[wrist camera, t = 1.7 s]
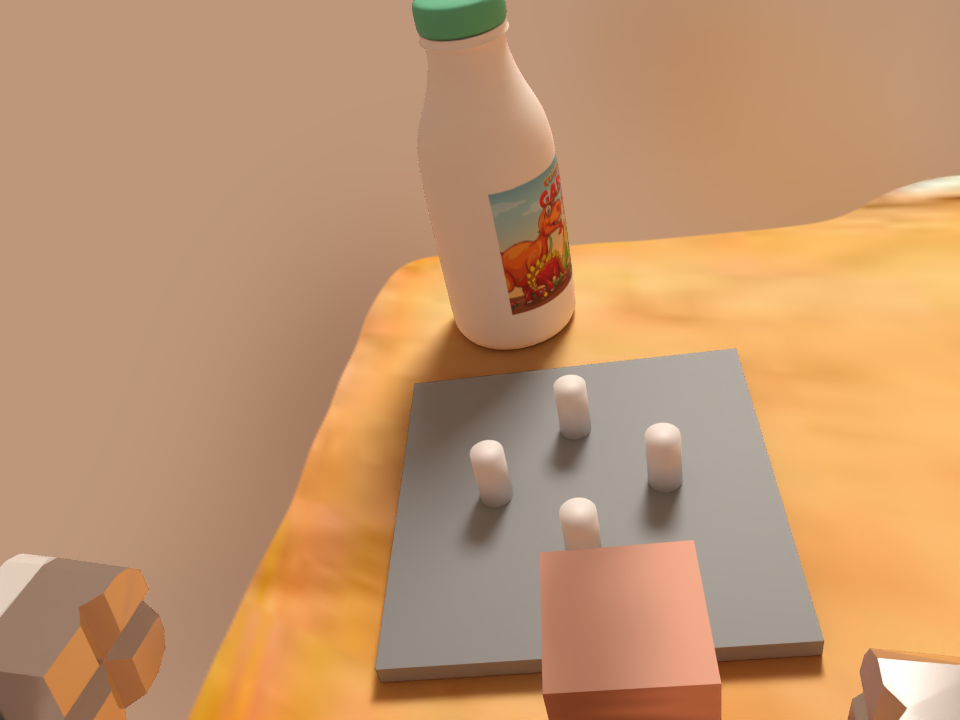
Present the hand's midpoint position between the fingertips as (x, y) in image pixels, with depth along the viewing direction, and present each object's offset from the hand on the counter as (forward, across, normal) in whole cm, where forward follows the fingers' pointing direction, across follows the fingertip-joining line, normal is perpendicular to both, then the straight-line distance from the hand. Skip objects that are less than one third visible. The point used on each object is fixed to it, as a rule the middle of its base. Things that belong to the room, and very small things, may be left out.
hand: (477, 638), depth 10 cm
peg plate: (+26, +1, +21) cm, 34 cm away
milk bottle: (+41, +7, +20) cm, 46 cm away
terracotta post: (+12, -2, +23) cm, 26 cm away
